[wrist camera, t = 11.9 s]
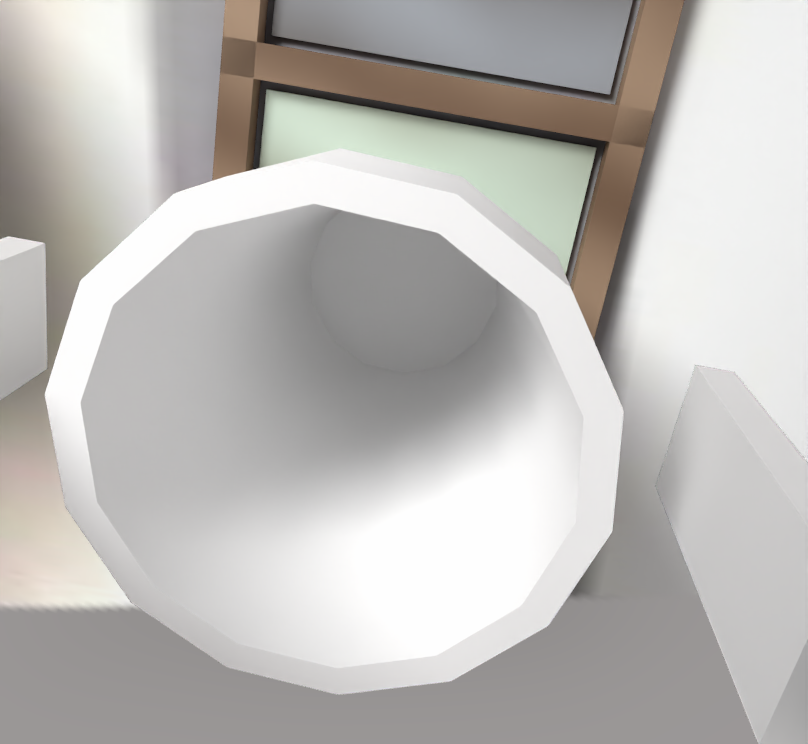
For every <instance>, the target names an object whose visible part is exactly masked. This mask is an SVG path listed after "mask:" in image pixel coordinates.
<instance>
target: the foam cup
mask: <svg viewBox="0 0 808 744" xmlns="http://www.w3.org/2000/svg"><path fill="white" fill-rule="evenodd" d="M45 399H46V404H47V410H48V415H49V420H50V426H51V431H52V437H53V442H54V448H55V453H56V458H57V464H58V469H59V475H60V480H61V486H62V491H63V496H64V502H65V507H66V509H67V510H68V512H69V513H70V515H71V516H72V518H73V519H74V521H75V522H76V523H77V525H78V526H79V528H80V529H81V531H82V532H83V534H84V535H85V537H86V538H87V539H88V541H89V542H90V544H91V545H92V547H93V548H94V550H95V551H96V552H97V554H98V555H99V557H100V558H101V560H102V561H103V563H104V564H105V565H106V567H107V568H108V570H109V571H110V573H111V574H112V576H113V577H114V579H115V580H116V581H117V583H118V584H119V586H120V587H121V589H122V590H123V592H124V593H125V594H126V596H127V597H128V599H129V600H130V602H131V603H133V604H134V605H135V606H137V607H138V608H140V609H141V610H143V611H144V612H146V613H147V614H149V615H150V616H152V617H153V618H155V619H156V620H158V621H159V622H161V623H162V624H164V625H165V626H167V627H168V628H170V629H171V630H172V631H174V632H175V633H177V634H178V635H180V636H181V637H183V638H184V639H186V640H187V641H189V642H190V643H192V644H193V645H195V646H196V647H198V648H199V649H201V650H202V651H204V652H205V653H207V654H208V655H210V656H211V657H213V658H214V659H215V660H217V661H218V662H220V663H221V664H223V665H224V666H226V667H228V668H232V669H236V670H240V671H245V672H248V673H252V674H256V675H260V676H264V677H269V678H272V679H277V680H280V681H285V682H289V683H293V684H297V685H301V686H305V687H309V688H313V689H317V690H321V691H325V692H329V693H333V694H337V695H341V694H349V693H357V692H366V691H375V690H383V689H391V688H400V687H408V686H417V685H425V684H433V683H442V682H451V681H452V680H454V679H456V678H457V677H459V676H461V675H463V674H465V673H467V672H468V671H470V670H472V669H474V668H475V667H477V666H479V665H481V664H482V663H484V662H486V661H488V660H489V659H491V658H493V657H494V656H496V655H498V654H500V653H502V652H503V651H505V650H507V649H509V648H510V647H512V646H514V645H516V644H517V643H519V642H521V641H523V640H524V639H526V638H528V637H530V636H531V635H533V634H535V633H537V632H539V631H540V630H542V629H544V628H546V627H547V626H549V624H550V623H551V621H552V620H553V618H554V617H555V615H556V614H557V612H558V611H559V609H560V608H561V607H562V605H563V604H564V602H565V601H566V599H567V598H568V596H569V595H570V593H571V592H572V590H573V589H574V587H575V586H576V584H577V583H578V582H579V580H580V579H581V577H582V576H583V574H584V573H585V571H586V570H587V568H588V567H589V565H590V564H591V562H592V561H593V559H594V558H595V557H596V555H597V554H598V552H599V551H600V549H601V548H602V546H603V545H604V543H605V542H606V540H607V539H608V537H609V536H610V534H611V533H612V530H613V520H614V510H615V499H616V489H617V478H618V468H619V457H620V447H621V436H622V426H623V415H624V410H623V408H622V405H621V403H620V401H619V398H618V396H617V394H616V391H615V389H614V387H613V384H612V382H611V380H610V377H609V375H608V373H607V370H606V368H605V366H604V363H603V361H602V359H601V356H600V354H599V352H598V349H597V347H596V345H595V342H594V340H593V338H592V335H591V333H590V331H589V329H588V326H587V324H586V322H585V319H584V317H583V315H582V312H581V310H580V308H579V305H578V303H577V301H576V298H575V296H574V294H573V292H572V289H571V287H570V285H569V282H568V280H567V278H566V275H565V273H564V271H563V268H562V266H561V264H560V261H559V259H558V257H557V255H556V254H555V253H554V252H553V251H551V250H550V249H549V248H548V247H547V246H545V245H544V244H543V243H542V242H540V241H539V240H538V239H537V238H536V237H534V236H533V235H532V234H531V233H530V232H528V231H527V230H526V229H525V228H524V227H522V226H521V225H520V224H519V223H517V222H516V221H515V220H514V219H513V218H511V217H510V216H509V215H508V214H507V213H505V212H504V211H503V210H502V209H501V208H499V207H498V206H497V205H496V204H495V203H493V202H492V201H491V200H490V199H488V198H487V197H486V196H485V195H484V194H482V193H481V192H480V191H479V190H478V189H476V188H475V187H474V186H473V185H472V184H470V183H469V182H468V181H467V180H465V179H464V178H463V177H461V176H457V175H453V174H449V173H444V172H440V171H436V170H431V169H427V168H423V167H419V166H414V165H410V164H406V163H402V162H397V161H393V160H389V159H385V158H380V157H376V156H372V155H368V154H363V153H359V152H355V151H350V150H346V149H342V148H340V149H336V150H331V151H327V152H323V153H319V154H315V155H311V156H307V157H303V158H299V159H295V160H291V161H287V162H283V163H279V164H275V165H271V166H266V167H262V168H258V169H254V170H250V171H246V172H242V173H238V174H234V175H230V176H226V177H223V178H220V179H217V180H214V181H211V182H208V183H205V184H202V185H199V186H196V187H193V188H190V189H186V190H183V191H180V192H177V193H174V194H173V195H172V196H171V197H170V198H169V199H168V200H167V201H166V202H165V203H163V204H162V205H161V206H160V207H159V208H158V209H157V210H156V211H155V212H154V213H153V214H152V215H150V216H149V217H148V218H147V219H146V220H145V221H144V222H143V223H142V224H141V225H140V226H139V227H137V228H136V229H135V230H134V231H133V232H132V233H131V234H130V235H129V236H128V237H127V238H126V239H125V240H123V241H122V242H121V243H120V244H119V245H118V246H117V247H116V248H115V249H114V250H113V251H112V252H110V253H109V254H108V255H107V256H106V257H105V258H104V259H103V260H102V261H101V262H100V263H99V264H98V265H96V266H95V267H94V268H93V269H92V270H91V271H90V272H89V273H88V274H87V275H86V276H85V277H83V278H82V279H81V280H80V282H79V286H78V289H77V292H76V295H75V298H74V302H73V305H72V308H71V311H70V314H69V318H68V321H67V324H66V327H65V330H64V334H63V337H62V340H61V343H60V346H59V350H58V353H57V356H56V359H55V362H54V366H53V369H52V372H51V375H50V378H49V382H48V385H47V388H46V391H45Z"/></svg>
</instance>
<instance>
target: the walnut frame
mask: <svg viewBox="0 0 808 744" xmlns="http://www.w3.org/2000/svg"><path fill="white" fill-rule="evenodd" d="M632 2H633V0H275V4H274V15H273V25H272V36H277V37H283V38H289V39H294V40H300V41H306V42H311V43H317V44H323V45H329V46H334V47H340V48H346V49H351V50H357V51H363V52H369V53H374V54H380V55H386V56H391V57H397V58H403V59H409V60H414V61H420V62H426V63H431V64H437V65H443V66H448V67H454V68H460V69H466V70H471V71H477V72H483V73H488V74H494V75H500V76H506V77H511V78H517V79H523V80H528V81H534V82H540V83H546V84H551V85H557V86H563V87H568V88H574V89H580V90H586V91H591V92H597V93H603V94H608V95H610V92H611V87H612V83H613V79H614V75H615V71H616V67H617V63H618V59H619V55H620V51H621V47H622V43H623V38H624V34H625V30H626V26H627V22H628V18H629V14H630V10H631V6H632ZM683 4H684V0H641V3H640V7H639V11H638V15H637V19H636V23H635V27H634V31H633V35H632V39H631V43H630V47H629V51H628V55H627V59H626V63H625V67H624V71H623V75H622V79H621V83H620V87H619V91H618V95H617V99H616V103H615V105H614V104H608V103H602V102H597V101H591V100H585V99H579V98H574V97H568V96H562V95H557V94H551V93H545V92H540V91H534V90H528V89H522V88H517V87H511V86H505V85H500V84H494V83H488V82H483V81H477V80H471V79H465V78H460V77H454V76H448V75H443V74H437V73H431V72H426V71H420V70H414V69H409V68H403V67H397V66H391V65H386V64H380V63H374V62H369V61H363V60H357V59H352V58H346V57H340V56H334V55H329V54H323V53H317V52H312V51H306V50H300V49H295V48H289V47H283V46H277V45H272V44H266V43H264V41H265V30H266V19H267V8H268V0H225V13H224V27H223V41H222V54H221V68H220V82H219V96H218V109H217V123H216V137H215V151H214V164H213V178H212V181H214V180H217V179H220V178H223V177H226V176H230V175H234V174H238V173H242V172H246V171H250V170H253V162H254V151H255V140H256V129H257V118H258V107H259V96H260V85H261V80H264V81H270V82H275V83H281V84H287V85H292V86H298V87H303V88H309V89H315V90H320V91H326V92H332V93H337V94H343V95H349V96H354V97H360V98H365V99H371V100H377V101H382V102H388V103H394V104H399V105H405V106H411V107H416V108H422V109H427V110H433V111H439V112H444V113H450V114H456V115H461V116H467V117H473V118H478V119H484V120H489V121H495V122H501V123H506V124H512V125H518V126H523V127H529V128H535V129H540V130H546V131H551V132H557V133H563V134H568V135H574V136H580V137H585V138H591V139H597V140H602V141H606V143H605V147H604V151H603V155H602V159H601V163H600V167H599V171H598V176H597V180H596V184H595V188H594V192H593V196H592V200H591V204H590V208H589V212H588V216H587V220H586V224H585V228H584V232H583V236H582V240H581V244H580V248H579V252H578V256H577V260H576V264H575V268H574V272H573V276H572V280H571V284H570V287H571V289H572V292H573V294H574V296H575V298H576V301H577V303H578V305H579V308H580V310H581V312H582V315H583V317H584V319H585V322H586V324H587V326H588V329H589V331H590V333H591V335H592V338H593V340H594V337H595V333H596V330H597V326H598V322H599V318H600V315H601V311H602V307H603V303H604V300H605V296H606V292H607V288H608V285H609V281H610V277H611V273H612V270H613V266H614V262H615V258H616V255H617V251H618V247H619V243H620V240H621V236H622V232H623V229H624V225H625V221H626V217H627V214H628V210H629V206H630V202H631V199H632V195H633V191H634V187H635V184H636V180H637V176H638V172H639V169H640V165H641V161H642V157H643V154H644V150H645V146H646V142H647V139H648V135H649V131H650V127H651V124H652V120H653V116H654V112H655V109H656V105H657V101H658V97H659V94H660V90H661V86H662V82H663V79H664V75H665V71H666V67H667V64H668V60H669V56H670V52H671V49H672V45H673V41H674V37H675V34H676V30H677V26H678V22H679V19H680V15H681V11H682V7H683ZM340 148H342V149H346V150H350V151H355V152H359V153H363V154H368V155H372V156H376V157H380V158H385V159H389V160H393V161H397V162H402V163H406V164H410V165H414V166H419V167H423V168H427V169H431V170H436V171H440V172H444V173H449V174H453V175H457V176H461V177H463V178H464V179H465V180H467V181H468V182H469V183H470V184H472V185H473V186H474V187H475V188H476V189H478V190H479V191H480V192H481V193H482V194H484V195H485V196H486V197H487V198H488V199H490V200H491V201H492V202H493V203H495V204H496V205H497V206H498V207H499V208H501V209H502V210H503V211H504V212H505V213H507V214H508V215H509V216H510V217H511V218H513V219H514V220H515V221H516V222H517V223H519V224H520V225H521V226H522V227H524V228H525V229H526V230H527V231H528V232H530V233H531V234H532V235H533V236H534V237H536V238H537V239H538V240H539V241H540V242H542V243H543V244H544V245H545V246H547V247H548V248H549V249H550V250H551V251H553V252H554V253H555V254H556V255H557V257H558V259H559V261H560V264H561V266H562V268H563V271H564V273H565V275H566V271H567V267H568V263H569V259H570V255H571V251H572V247H573V242H574V238H575V234H576V230H577V226H578V222H579V218H580V214H581V210H582V206H583V202H584V198H585V194H586V189H587V185H588V181H589V177H590V173H591V169H592V165H593V161H594V157H595V153H596V149H597V148H596V147H591V146H585V145H579V144H574V143H568V142H563V141H557V140H551V139H546V138H540V137H534V136H529V135H523V134H518V133H512V132H506V131H501V130H495V129H489V128H484V127H478V126H473V125H467V124H461V123H456V122H450V121H444V120H439V119H433V118H428V117H422V116H416V115H411V114H405V113H399V112H394V111H388V110H383V109H377V108H371V107H366V106H360V105H354V104H349V103H343V102H338V101H332V100H326V99H321V98H315V97H309V96H304V95H298V94H293V93H287V92H281V91H276V90H270V89H266V100H265V111H264V121H263V132H262V143H261V153H260V164H259V168H262V167H266V166H271V165H275V164H279V163H283V162H287V161H291V160H295V159H299V158H303V157H307V156H311V155H315V154H319V153H323V152H327V151H331V150H336V149H340Z"/></svg>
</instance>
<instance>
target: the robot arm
mask: <svg viewBox="0 0 808 744" xmlns="http://www.w3.org/2000/svg"><path fill="white" fill-rule="evenodd" d="M46 369H48V367H47V309H46V251H45V243H42V242H37V241H31V240H26V239H21V238H15V237H10V236H8V237H5V238H2V239H0V400H2V399H3V398H5V397H6V396H8V395H9V394H11V393H12V392H14V391H15V390H17V389H18V388H20V387H21V386H22V385H24V384H25V383H27V382H28V381H30V380H31V379H33V378H34V377H36V376H37V375H39V374H40V373H42V372H43V371H45V370H46ZM656 489H657V491H658V494H659V496H660V499H661V501H662V504H663V506H664V509H665V511H666V514H667V516H668V519H669V521H670V524H671V526H672V529H673V531H674V534H675V536H676V539H677V541H678V544H679V547H680V549H681V552H682V554H683V557H684V559H685V562H686V564H687V567H688V569H689V572H690V574H691V577H692V579H693V582H694V584H695V587H696V589H697V592H698V594H699V597H700V599H701V602H702V604H703V607H704V609H705V611H706V614H707V617H708V620H709V622H710V624H711V627H712V630H713V632H714V635H715V637H716V639H717V642H718V644H719V647H720V650H721V652H722V655H723V657H724V660H725V662H726V665H727V667H728V670H729V672H730V675H731V677H732V680H733V682H734V685H735V687H736V690H737V692H738V695H739V697H740V700H741V703H742V705H743V708H744V710H745V713H746V715H747V717H748V720H749V722H750V725H751V728H752V730H753V733H754V735H755V738H756V740H757V742H758V744H808V462H807V461H806V460H805V458H804V457H803V456H802V455H801V454H800V452H799V451H798V450H797V449H796V447H795V446H794V445H793V444H792V442H791V441H790V440H789V439H788V437H787V436H786V435H785V434H784V432H783V431H782V430H781V429H780V428H779V426H778V425H777V424H776V423H775V421H774V420H773V419H772V418H771V416H770V415H769V414H768V413H767V411H766V410H765V409H764V408H763V407H762V405H761V404H760V403H759V402H758V400H757V399H756V398H755V397H754V395H753V394H752V393H751V392H750V390H749V389H748V388H747V387H746V385H745V384H744V383H743V382H742V381H741V379H740V378H739V377H738V376H737V374H736V373H735V372H731V371H726V370H721V369H715V368H710V367H705V366H699V365H695V368H694V371H693V374H692V377H691V380H690V383H689V386H688V389H687V392H686V395H685V398H684V401H683V404H682V407H681V410H680V413H679V416H678V419H677V422H676V425H675V428H674V431H673V434H672V437H671V440H670V444H669V447H668V450H667V453H666V456H665V459H664V462H663V465H662V468H661V471H660V474H659V477H658V480H657V483H656Z"/></svg>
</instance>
